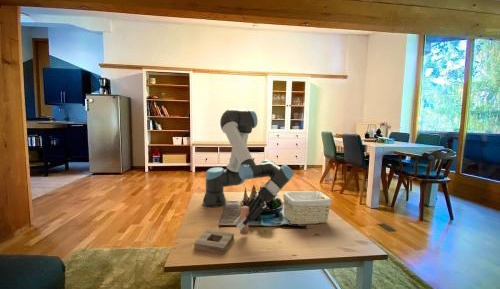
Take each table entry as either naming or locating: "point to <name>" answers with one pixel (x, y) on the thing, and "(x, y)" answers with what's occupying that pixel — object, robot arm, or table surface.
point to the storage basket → (306, 207)
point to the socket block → (212, 246)
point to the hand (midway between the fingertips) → (237, 226)
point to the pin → (243, 214)
